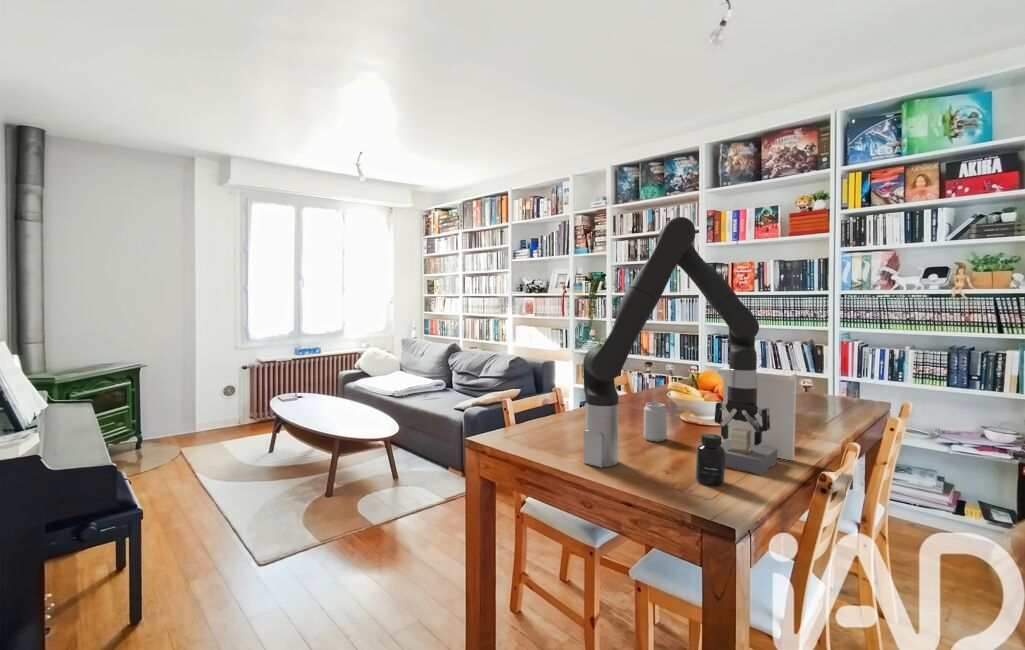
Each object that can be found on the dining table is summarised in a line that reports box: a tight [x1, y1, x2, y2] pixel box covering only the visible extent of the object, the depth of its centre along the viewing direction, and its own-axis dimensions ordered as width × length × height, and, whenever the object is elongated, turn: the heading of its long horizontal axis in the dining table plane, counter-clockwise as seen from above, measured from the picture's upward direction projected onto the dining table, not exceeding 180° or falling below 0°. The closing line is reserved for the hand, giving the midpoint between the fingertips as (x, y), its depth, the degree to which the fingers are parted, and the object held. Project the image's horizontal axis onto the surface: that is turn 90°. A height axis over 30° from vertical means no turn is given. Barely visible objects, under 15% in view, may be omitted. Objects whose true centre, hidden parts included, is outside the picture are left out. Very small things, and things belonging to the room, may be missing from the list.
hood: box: [717, 366, 798, 461], centre depth 149 cm, size 6×20×26 cm, turn 47°
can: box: [643, 402, 668, 443], centre depth 167 cm, size 8×8×12 cm
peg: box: [731, 427, 751, 455], centre depth 141 cm, size 4×4×10 cm
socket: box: [720, 439, 778, 475], centre depth 143 cm, size 14×14×4 cm
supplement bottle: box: [695, 433, 726, 487], centre depth 128 cm, size 7×7×12 cm
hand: (741, 441), depth 141 cm, fingers open, 8 cm apart
